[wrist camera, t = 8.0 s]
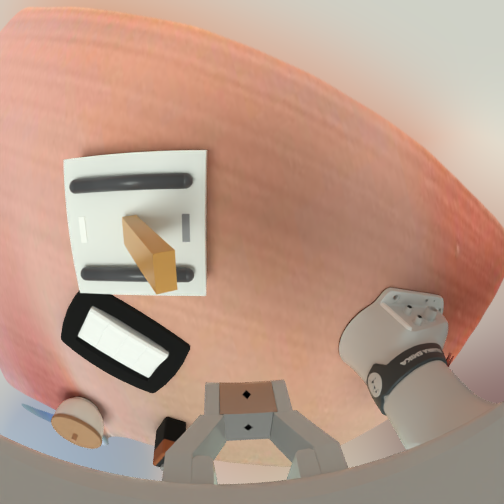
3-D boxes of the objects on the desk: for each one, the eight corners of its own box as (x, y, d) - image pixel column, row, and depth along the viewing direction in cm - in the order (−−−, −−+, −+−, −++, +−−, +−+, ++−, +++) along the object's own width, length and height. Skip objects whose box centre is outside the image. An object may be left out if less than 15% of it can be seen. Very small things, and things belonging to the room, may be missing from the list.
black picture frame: (199, 350, 39) (155, 402, 41) (198, 340, 42) (156, 391, 44) (80, 277, 33) (52, 343, 35) (87, 270, 36) (58, 334, 38)
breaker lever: (136, 214, 28) (174, 250, 19) (138, 242, 29) (177, 289, 20) (121, 216, 27) (152, 254, 18) (124, 244, 28) (156, 294, 19)
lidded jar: (101, 427, 47) (93, 460, 38) (59, 404, 43) (46, 436, 35) (115, 406, 44) (105, 444, 36) (66, 380, 41) (51, 415, 32)
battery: (155, 430, 48) (151, 469, 39) (166, 415, 46) (162, 457, 37) (175, 436, 49) (173, 474, 40) (186, 422, 47) (185, 463, 38)
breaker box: (207, 149, 31) (205, 150, 25) (207, 276, 37) (205, 302, 31) (82, 157, 29) (56, 160, 23) (93, 275, 35) (75, 299, 29)
